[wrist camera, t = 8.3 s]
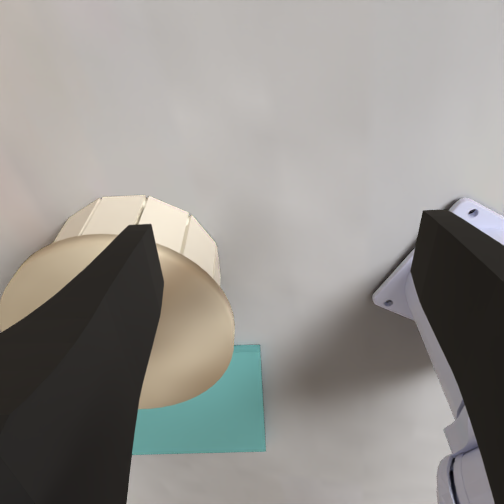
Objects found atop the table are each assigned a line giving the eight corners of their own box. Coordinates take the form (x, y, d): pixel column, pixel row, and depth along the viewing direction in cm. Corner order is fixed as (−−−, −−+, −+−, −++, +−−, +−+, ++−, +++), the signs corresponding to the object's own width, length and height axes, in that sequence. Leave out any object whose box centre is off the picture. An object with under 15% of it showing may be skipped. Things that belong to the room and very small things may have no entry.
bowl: (246, 237, 25) (245, 291, 21) (184, 338, 29) (174, 396, 26) (83, 168, 22) (50, 216, 18) (44, 290, 27) (12, 347, 23)
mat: (259, 344, 30) (259, 351, 29) (265, 444, 37) (265, 451, 36) (81, 350, 30) (78, 357, 30) (120, 448, 37) (119, 455, 37)
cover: (276, 294, 21) (281, 382, 17) (180, 414, 27) (167, 501, 23) (40, 191, 18) (-22, 270, 14) (-12, 353, 24) (-67, 442, 19)
